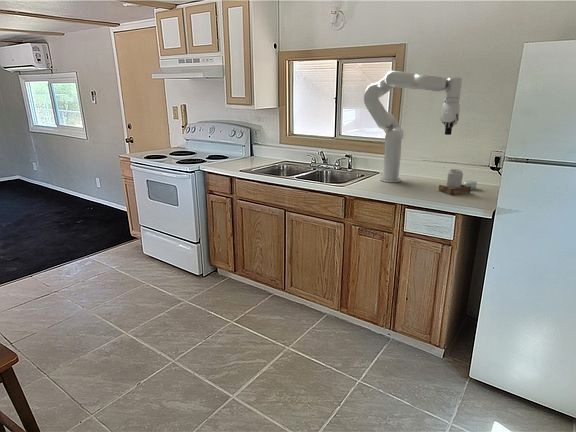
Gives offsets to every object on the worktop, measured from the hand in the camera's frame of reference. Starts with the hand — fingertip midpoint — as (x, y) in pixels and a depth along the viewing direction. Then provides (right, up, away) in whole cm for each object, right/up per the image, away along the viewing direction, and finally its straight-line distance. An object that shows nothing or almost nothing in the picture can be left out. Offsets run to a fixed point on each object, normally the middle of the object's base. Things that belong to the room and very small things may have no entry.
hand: (447, 134), depth 222 cm
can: (0, -33, -7) cm, 34 cm away
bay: (0, -33, -7) cm, 34 cm away
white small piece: (+12, -31, -1) cm, 33 cm away
